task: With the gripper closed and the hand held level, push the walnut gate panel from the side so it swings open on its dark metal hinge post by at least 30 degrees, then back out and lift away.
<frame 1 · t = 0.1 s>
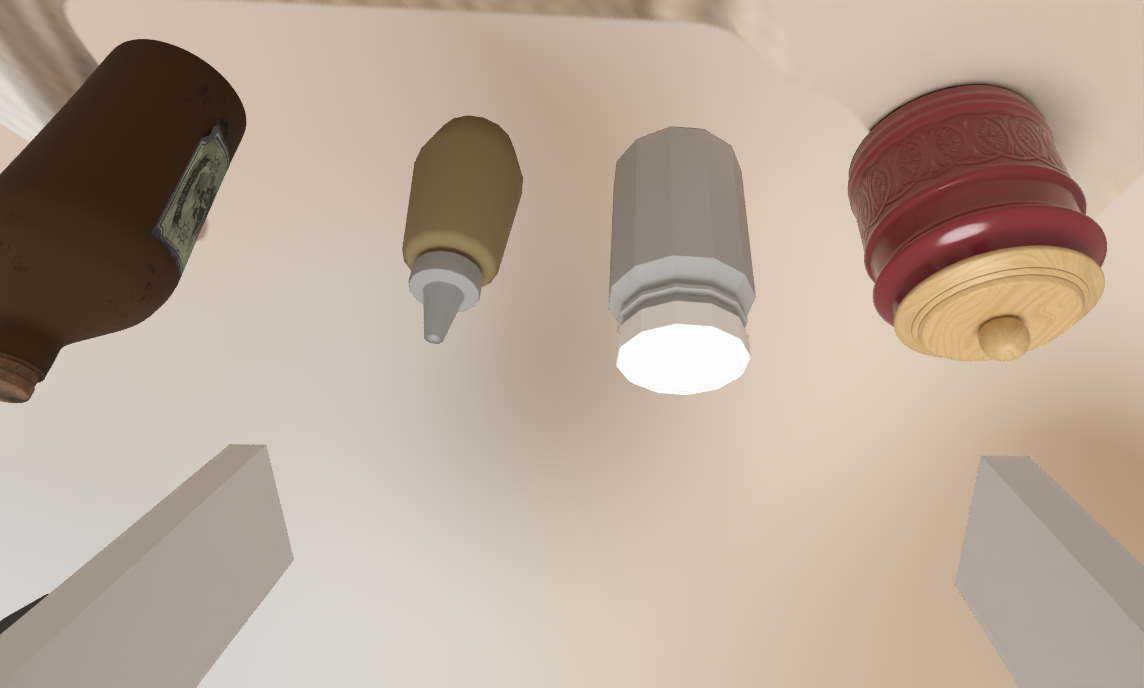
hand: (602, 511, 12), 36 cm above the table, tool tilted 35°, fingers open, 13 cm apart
jar: (675, 167, 51), on the table
olive oil: (182, 96, 48), on the table
squeeze bottle: (476, 144, 50), on the table
canister: (937, 154, 48), on the table
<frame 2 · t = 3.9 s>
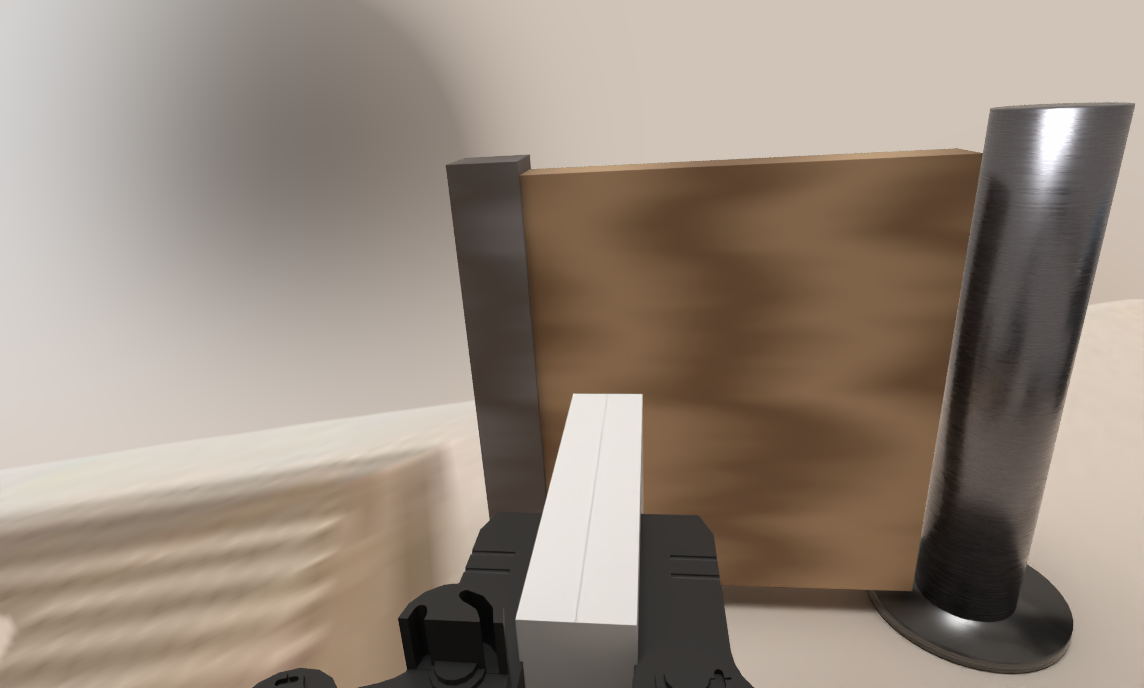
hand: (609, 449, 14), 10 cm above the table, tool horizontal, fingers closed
gate post: (961, 600, 22), on the table
gate: (698, 385, 21), point 8 cm above the table, hinge at 0.0°
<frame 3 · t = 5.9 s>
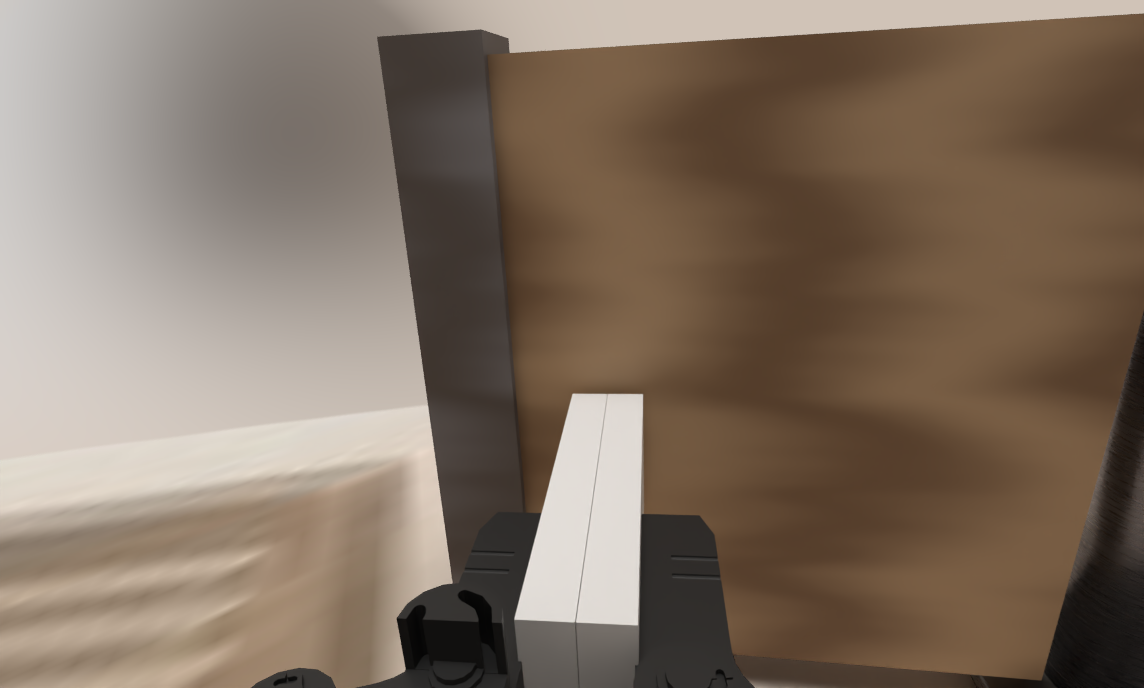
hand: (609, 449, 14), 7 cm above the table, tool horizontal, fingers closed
gate: (743, 378, 14), point 8 cm above the table, hinge at -2.0°, touching gripper
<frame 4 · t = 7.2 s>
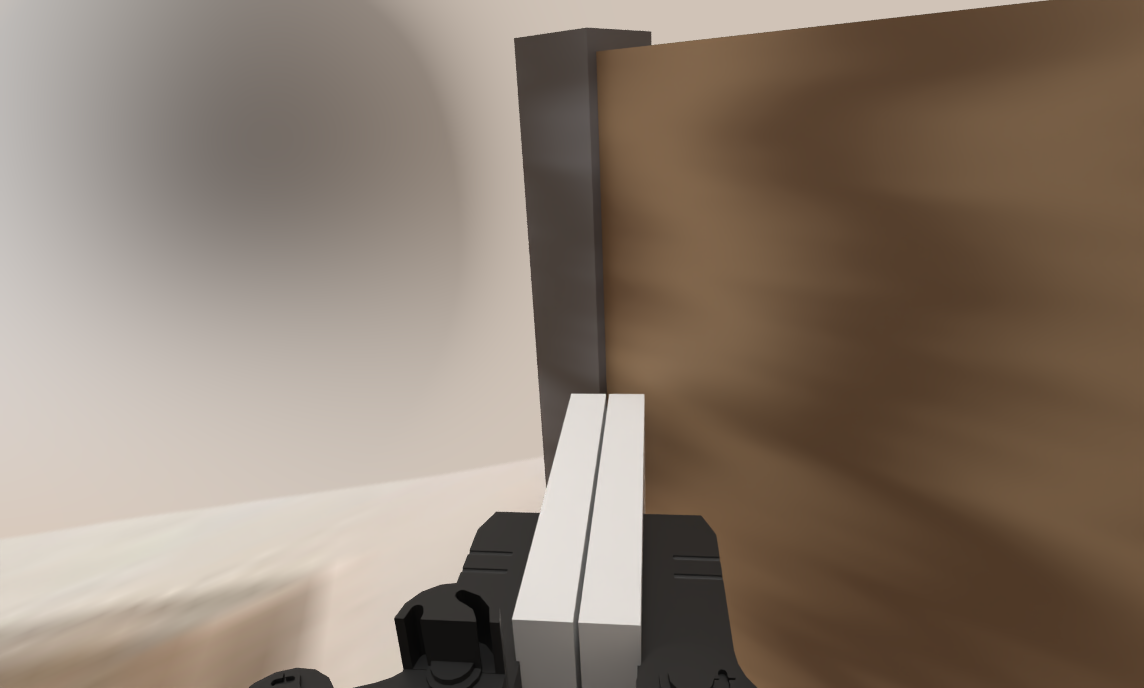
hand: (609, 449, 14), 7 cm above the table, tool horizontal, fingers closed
gate: (839, 431, 12), point 8 cm above the table, hinge at -36.3°, touching gripper
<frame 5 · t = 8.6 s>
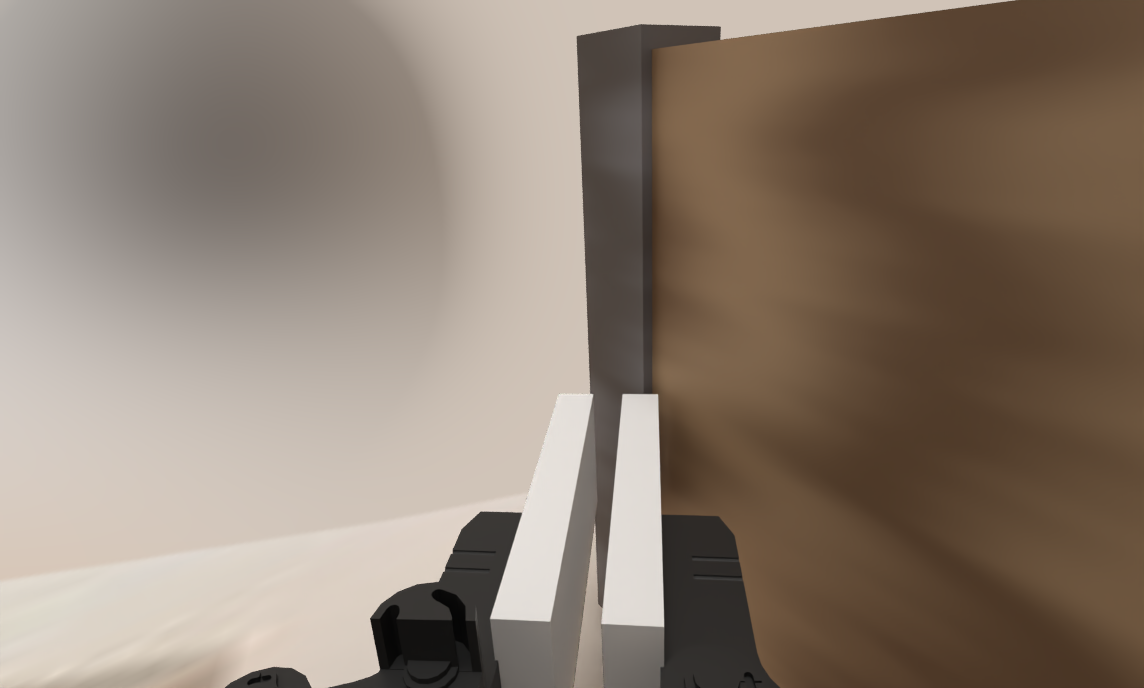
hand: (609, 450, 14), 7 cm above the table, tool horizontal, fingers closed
gate: (888, 475, 11), point 8 cm above the table, hinge at -49.6°, touching gripper
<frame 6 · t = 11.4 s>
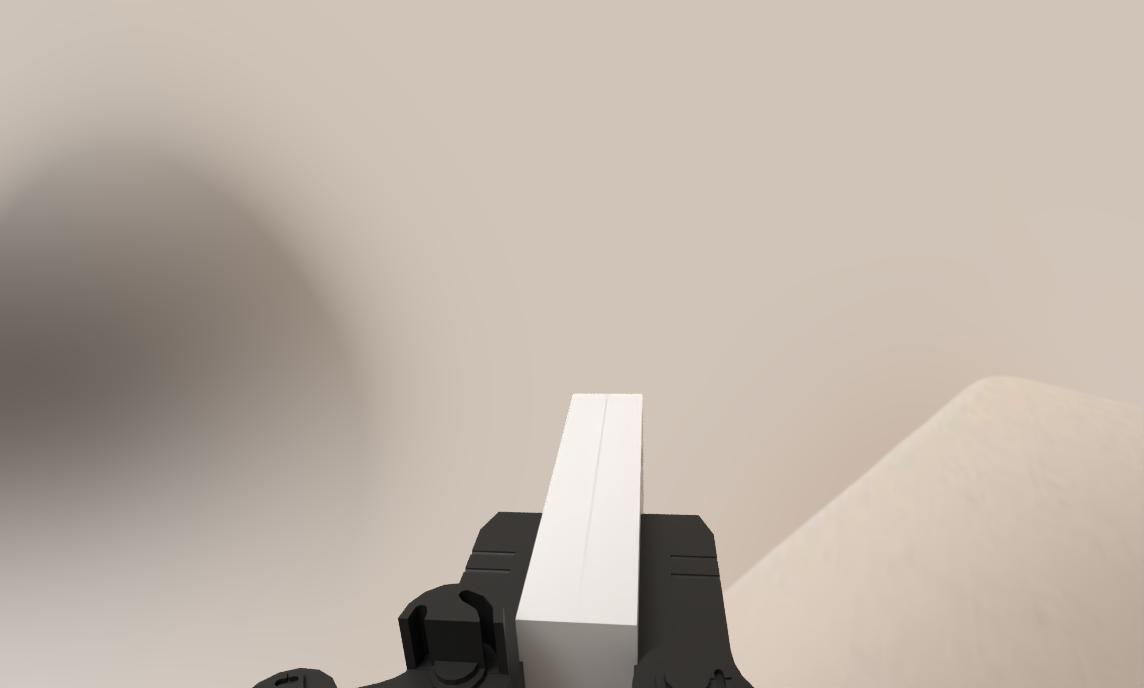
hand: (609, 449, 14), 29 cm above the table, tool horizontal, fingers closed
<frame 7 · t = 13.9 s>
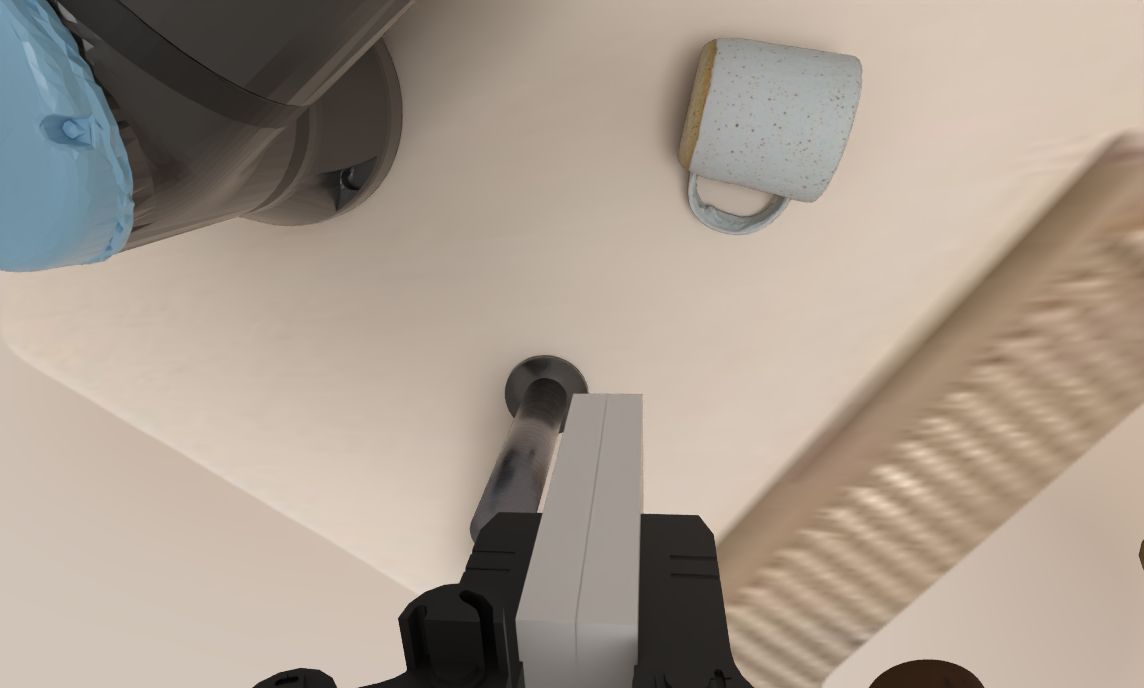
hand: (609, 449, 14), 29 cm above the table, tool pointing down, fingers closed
gate post: (547, 394, 47), on the table
ceramic mug: (750, 140, 40), on the table
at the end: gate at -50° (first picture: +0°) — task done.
